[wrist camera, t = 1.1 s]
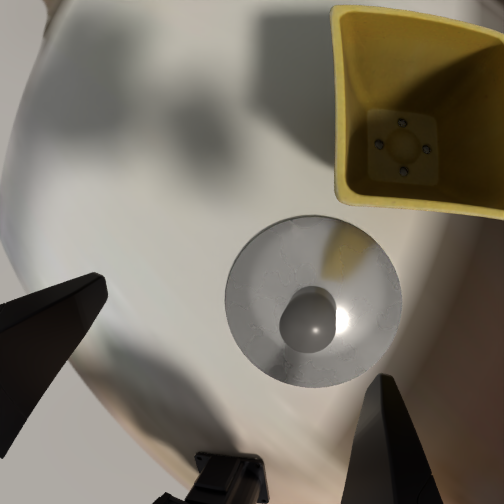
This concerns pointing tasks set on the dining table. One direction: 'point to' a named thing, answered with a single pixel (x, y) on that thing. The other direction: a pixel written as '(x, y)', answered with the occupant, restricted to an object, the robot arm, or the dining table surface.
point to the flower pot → (418, 111)
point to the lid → (313, 302)
